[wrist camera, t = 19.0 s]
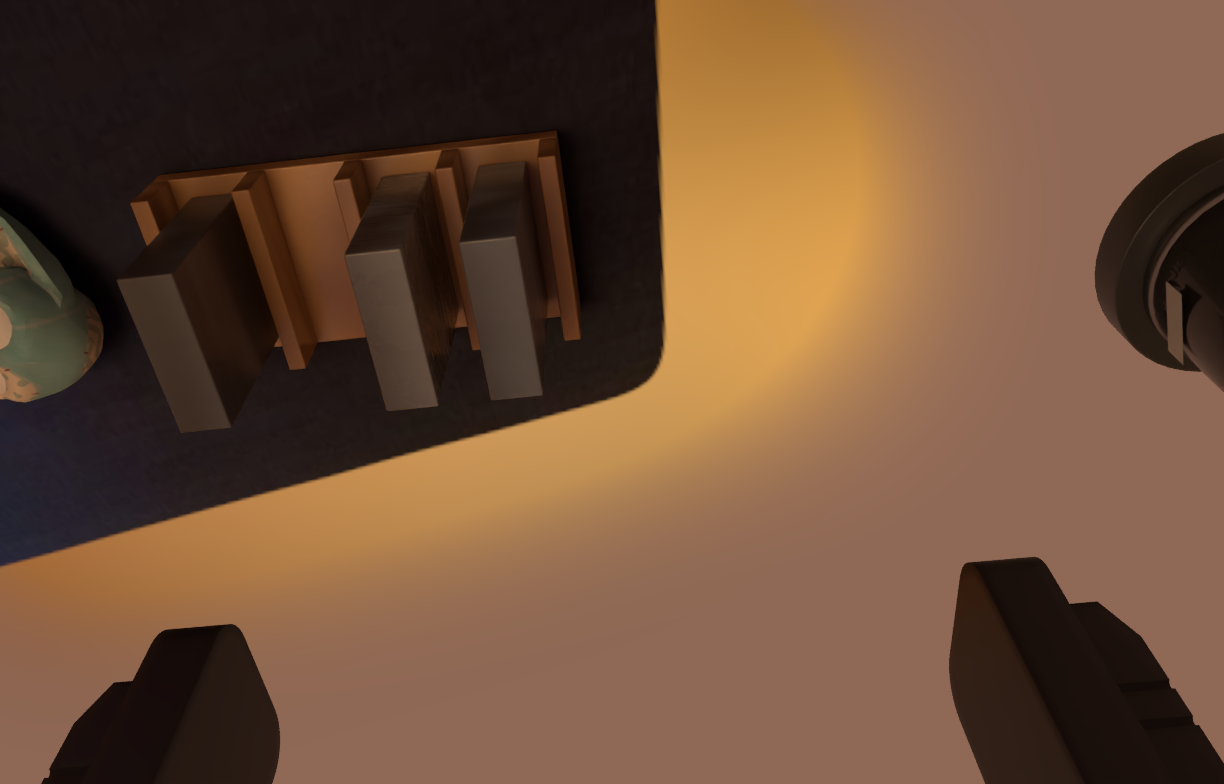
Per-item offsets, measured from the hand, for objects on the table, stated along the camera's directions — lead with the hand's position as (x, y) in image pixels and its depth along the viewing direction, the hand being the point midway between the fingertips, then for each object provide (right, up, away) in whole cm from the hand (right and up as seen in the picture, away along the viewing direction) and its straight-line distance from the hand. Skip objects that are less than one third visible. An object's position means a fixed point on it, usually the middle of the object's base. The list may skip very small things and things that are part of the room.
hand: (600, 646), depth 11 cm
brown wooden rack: (-11, +10, +36) cm, 39 cm away
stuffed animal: (-30, +8, +36) cm, 48 cm away
